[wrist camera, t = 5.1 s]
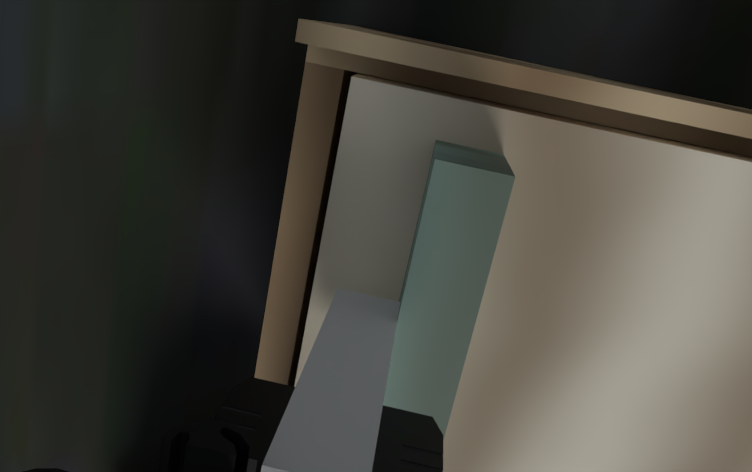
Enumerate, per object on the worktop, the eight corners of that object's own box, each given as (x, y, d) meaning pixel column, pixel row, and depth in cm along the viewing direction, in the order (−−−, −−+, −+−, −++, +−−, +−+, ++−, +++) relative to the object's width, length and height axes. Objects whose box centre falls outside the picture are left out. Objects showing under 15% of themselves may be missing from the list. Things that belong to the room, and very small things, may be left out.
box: (292, 362, 28) (220, 521, 19) (353, 25, 24) (298, 18, 15) (805, 479, 27) (988, 703, 18) (963, 154, 23) (1308, 232, 14)
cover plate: (282, 474, 20) (247, 570, 16) (357, 73, 16) (334, 84, 13) (1017, 647, 19) (1149, 786, 15) (1271, 269, 15) (1517, 338, 12)
